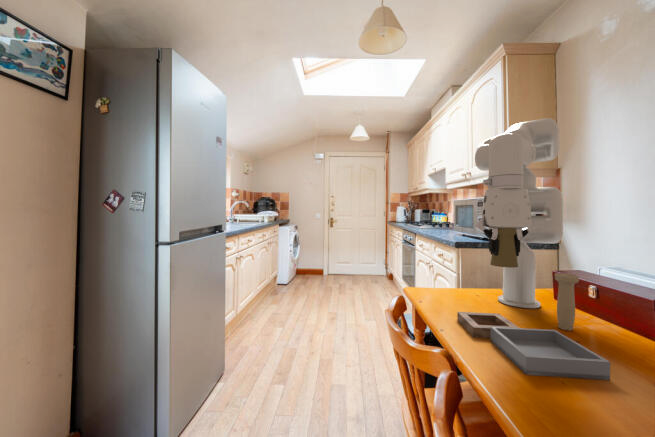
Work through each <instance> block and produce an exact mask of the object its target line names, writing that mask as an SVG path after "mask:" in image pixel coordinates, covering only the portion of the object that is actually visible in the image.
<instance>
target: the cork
mask: <svg viewBox="0 0 655 437" xmlns="http://www.w3.org/2000/svg"><path fill="white" fill-rule="evenodd" d="M516 230H517V229H516V228H498V235H497V240H499V251H498V255H497V256H495V255H494V254H491V257H490V263H489V264H490V265H491V266H494V267H497V268H498V267H500V268H503V267H509V268H516V267H518V262H517V256H516V249H515V240H514V235H515V234H516Z"/></svg>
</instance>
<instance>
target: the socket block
mask: <svg viewBox="0 0 655 437" xmlns="http://www.w3.org/2000/svg"><path fill="white" fill-rule="evenodd" d="M456 315H457V316H456V317H457V322H459V323H460V325H461V326H463V328H464V329H465V330H466V331H467V332H468V333H469V334H470V336H472V337H473V338H482V339H484V338H485V339H490V327H505V328H520V327H519V326H518V325H516V324H515V323H514V322H512V321H510V320H509V319H508V318H507V317H505V316H503V315H501V314H500V313H497V312H495V313H491V312H490V313H489V312H473V311H472V312H471V311H470V312H469V311H457V314H456Z"/></svg>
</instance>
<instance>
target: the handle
mask: <svg viewBox="0 0 655 437" xmlns="http://www.w3.org/2000/svg"><path fill="white" fill-rule="evenodd" d="M554 279H555V281H557V282H558V289H557V290H558V291H557V299H556V300H557V301H556V302H557V303H556V318H557V326H558V329H560V330H561V329H562V330H564V331H569V332H571V331H573V330H574V325H575V320H576V319H575V317H576V301H575V300H576V299H575V284H577V283H579V281H580V276H578V275H575V274H572V273H563V272H555V273H554Z"/></svg>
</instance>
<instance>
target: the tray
mask: <svg viewBox="0 0 655 437" xmlns="http://www.w3.org/2000/svg"><path fill="white" fill-rule="evenodd" d="M489 340H490V342H491V343H492V344H493V345H494V347H497V349H499V351H501V352H502V353H503V354H504V355H505V356H506V357H507V358H508V359H509V360H510V361H511V362H512V363H513V364H514V365H516V366H517V367H518V369H519V370H521V371H522V372H523V373H524V374H525V375H529V376H539V377H540V376H542V377H557V378H559V377H560V378H574V379H586V380H587V379H588V380H603V381H611V361H610V360H608V359H606V358H604V357H603V356H601V355H599V354H597V353H596V352H594V351H592V350H590V349H589V348H587V347H585V346H584V345H582V344H580V343H578V342H577V341H575V340H573V339H572V338H570V337H568V336H566V335H565V334H563V333H561V332H560V331H558V330H556V329H542V328H541V329H540V328H525V327H524V328H522V327H519V328H505V327H490V338H489Z"/></svg>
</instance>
